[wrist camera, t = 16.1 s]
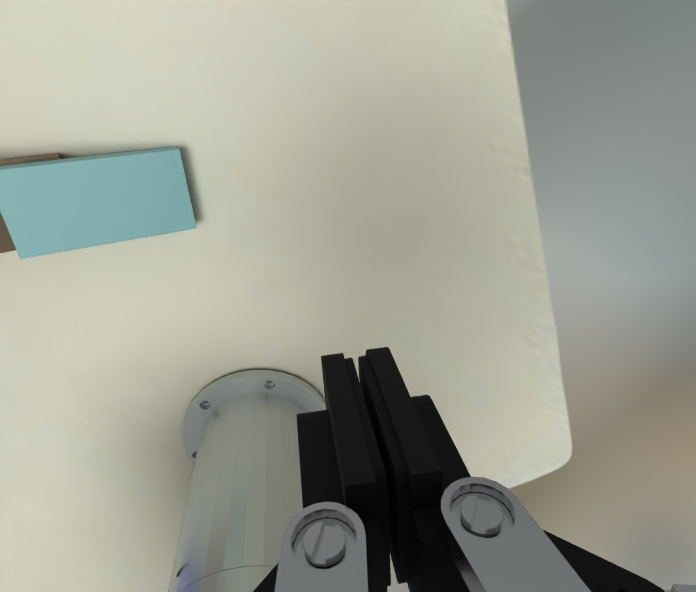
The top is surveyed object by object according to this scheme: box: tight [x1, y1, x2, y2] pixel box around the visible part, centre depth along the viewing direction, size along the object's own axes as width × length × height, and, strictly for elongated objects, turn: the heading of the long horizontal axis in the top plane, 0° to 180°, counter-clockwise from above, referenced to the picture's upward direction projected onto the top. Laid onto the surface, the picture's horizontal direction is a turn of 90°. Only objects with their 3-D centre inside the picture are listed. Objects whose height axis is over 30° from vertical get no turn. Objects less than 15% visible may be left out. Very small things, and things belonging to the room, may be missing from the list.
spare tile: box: [0, 146, 196, 259], centre depth 27 cm, size 5×2×10 cm
